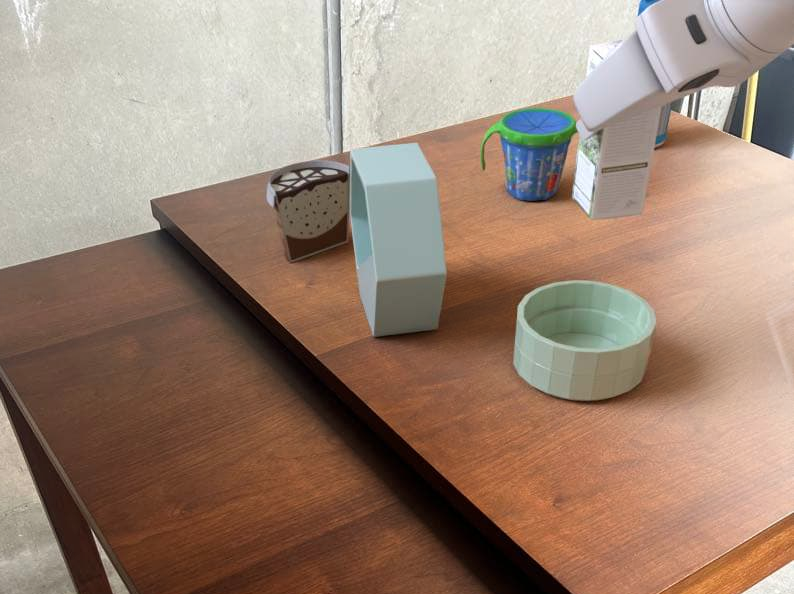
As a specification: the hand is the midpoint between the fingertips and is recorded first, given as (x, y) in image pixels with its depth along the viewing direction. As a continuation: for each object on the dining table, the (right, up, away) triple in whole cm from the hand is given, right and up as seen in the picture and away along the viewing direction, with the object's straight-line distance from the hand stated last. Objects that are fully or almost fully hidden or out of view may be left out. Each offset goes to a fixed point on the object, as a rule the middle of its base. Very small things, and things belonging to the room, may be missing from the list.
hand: (614, 119), depth 82 cm
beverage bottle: (+19, +25, +59) cm, 67 cm away
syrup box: (+1, -6, +6) cm, 9 cm away
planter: (-21, -12, +23) cm, 33 cm away
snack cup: (0, +11, +46) cm, 47 cm away
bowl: (0, -21, +14) cm, 25 cm away
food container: (-33, 0, +36) cm, 49 cm away
